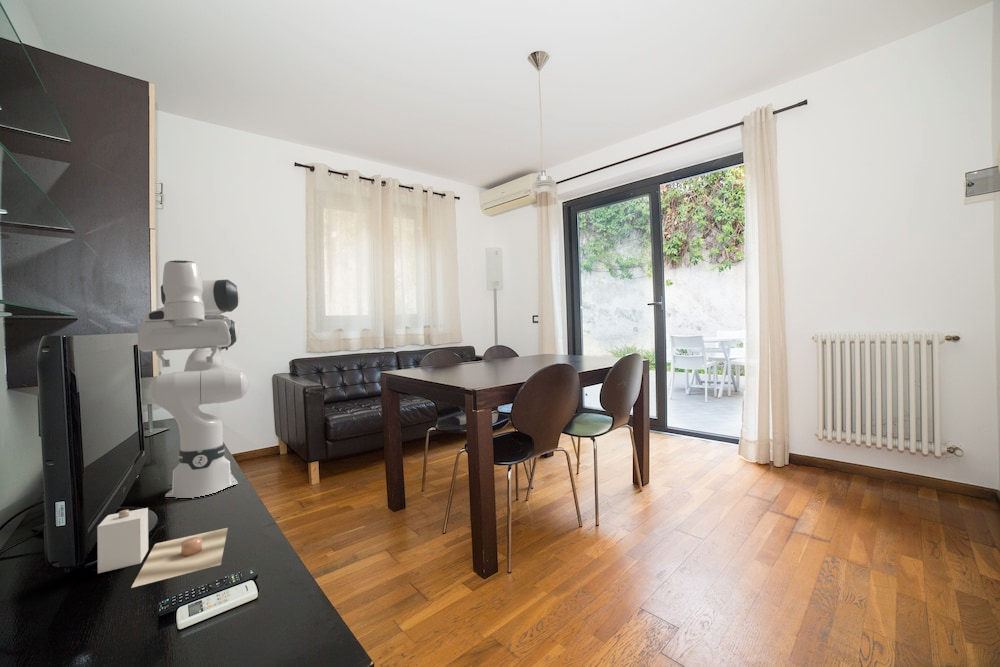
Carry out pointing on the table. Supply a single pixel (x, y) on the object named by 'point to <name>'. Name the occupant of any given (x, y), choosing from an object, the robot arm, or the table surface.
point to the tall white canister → (122, 539)
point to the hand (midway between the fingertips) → (188, 364)
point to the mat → (181, 558)
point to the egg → (191, 546)
